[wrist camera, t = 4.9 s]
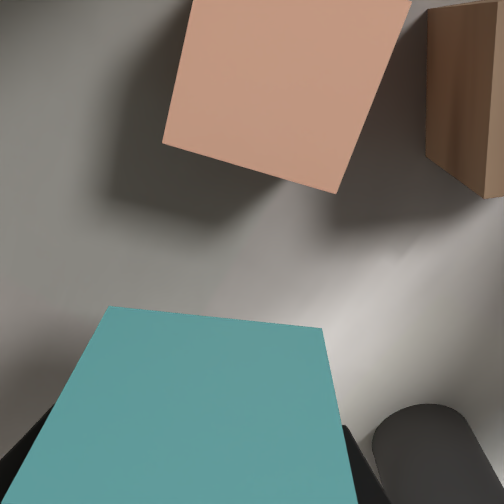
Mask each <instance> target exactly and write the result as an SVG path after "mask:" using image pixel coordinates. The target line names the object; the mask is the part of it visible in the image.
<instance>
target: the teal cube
mask: <svg viewBox="0 0 504 504" xmlns="http://www.w3.org/2000/svg"><path fill="white" fill-rule="evenodd" d="M1 504H358V501H357V497H356V492H355V487H354V482H353V477H352V472H351V468H350V463H349V458H348V453H347V448H346V443H345V438H344V434H343V429H342V424H341V419H340V414H339V409H338V405H337V400H336V395H335V390H334V385H333V380H332V375H331V371H330V366H329V361H328V356H327V351H326V346H325V342H324V337H323V332H322V328H313V327H304V326H294V325H285V324H275V323H266V322H256V321H247V320H237V319H228V318H218V317H208V316H199V315H189V314H180V313H170V312H161V311H151V310H142V309H132V308H123V307H113V306H109V307H108V309H107V310H106V312H105V314H104V316H103V318H102V319H101V321H100V323H99V325H98V327H97V329H96V330H95V332H94V334H93V336H92V338H91V340H90V341H89V343H88V345H87V347H86V349H85V350H84V352H83V354H82V356H81V358H80V360H79V361H78V363H77V365H76V367H75V369H74V371H73V372H72V374H71V376H70V378H69V380H68V382H67V383H66V385H65V387H64V389H63V391H62V392H61V394H60V396H59V398H58V400H57V402H56V403H55V405H54V407H53V409H52V411H51V413H50V414H49V416H48V418H47V420H46V422H45V423H44V425H43V427H42V429H41V431H40V433H39V434H38V436H37V438H36V440H35V442H34V444H33V445H32V447H31V449H30V451H29V453H28V455H27V456H26V458H25V460H24V462H23V464H22V465H21V467H20V469H19V471H18V473H17V475H16V476H15V478H14V480H13V482H12V484H11V486H10V487H9V489H8V491H7V493H6V495H5V496H4V498H3V500H2V502H1Z"/></svg>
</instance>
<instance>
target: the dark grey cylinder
mask: <svg viewBox="0 0 504 504" xmlns="http://www.w3.org/2000/svg"><path fill="white" fill-rule="evenodd" d="M372 451H373V454H374V458H375V461H376V464H377V468H378V471H379V475H380V478H381V482H382V485H383V489H384V491H385V493H386V494H387V496H388V497H389V499H390V500H391V502H392V504H504V488H503V486H502V484H501V482H500V481H499V479H498V477H497V475H496V473H495V472H494V470H493V468H492V466H491V464H490V462H489V461H488V459H487V457H486V455H485V453H484V452H483V450H482V448H481V446H480V444H479V443H478V441H477V439H476V437H475V435H474V433H473V432H472V430H471V428H470V426H469V424H468V423H467V421H466V420H465V418H464V417H463V416H462V415H461V414H460V413H458V412H457V411H455V410H454V409H452V408H449V407H446V406H443V405H437V404H420V405H414V406H410V407H407V408H404V409H401V410H399V411H397V412H395V413H394V414H392V415H390V416H389V417H388V418H386V419H385V420H384V421H383V422H382V423H381V424H380V425H379V427H378V428H377V430H376V431H375V433H374V436H373V440H372Z"/></svg>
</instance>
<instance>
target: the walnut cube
mask: <svg viewBox="0 0 504 504" xmlns="http://www.w3.org/2000/svg"><path fill="white" fill-rule="evenodd" d="M426 157H427V158H429V159H430V160H431V161H433V162H434V163H435V164H437V165H438V166H440V167H441V168H442V169H444V170H445V171H446V172H448V173H449V174H450V175H452V176H453V177H455V178H456V179H457V180H459V181H460V182H461V183H463V184H464V185H465V186H467V187H468V188H470V189H471V190H472V191H474V192H475V193H476V194H478V195H479V196H480V197H482V198H483V199H488V198H495V197H503V196H504V0H481V1H475V2H469V3H462V4H456V5H450V6H444V7H437V8H431V9H428V21H427V93H426Z"/></svg>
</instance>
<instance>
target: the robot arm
mask: <svg viewBox="0 0 504 504" xmlns="http://www.w3.org/2000/svg"><path fill="white" fill-rule="evenodd" d="M54 405H55V404H54ZM54 405H53V406H52V407H51V408H50V409H49V410H48V411H47V412H46V413H45V414H44V415H43V416H42V417H41V419H40V420H39V421H38V422H37V423H36V424H35V425H34V426H33V427H32V428H31V429H30V430H29V431H28V432H27V433H26V434H25V435H24V437H23V438H22V439H21V440H20V441H19V442H18V443H17V444H16V445H15V446H14V447H13V448H12V449H11V450H10V451H9V452H8V453H7V454H6V455H5V456H4V457H3V458H2V459H1V460H0V504H1V502H2V500H3V498H4V496H5V495H6V493H7V491H8V489H9V487H10V486H11V484H12V482H13V480H14V478H15V476H16V475H17V473H18V471H19V469H20V467H21V465H22V464H23V462H24V460H25V458H26V456H27V455H28V453H29V451H30V449H31V447H32V445H33V444H34V442H35V440H36V438H37V436H38V434H39V433H40V431H41V429H42V427H43V425H44V423H45V422H46V420H47V418H48V416H49V414H50V413H51V411H52V409H53V407H54ZM342 429H343V434H344V438H345V443H346V448H347V453H348V458H349V463H350V468H351V472H352V477H353V482H354V487H355V492H356V497H357V501H358V504H392V502H391V500H390V499H389V497H388V496H387V494H386V493H385V491H384V489H383V488H382V486H381V484H380V483H379V481H378V479H377V478H376V476H375V474H374V473H373V471H372V469H371V468H370V466H369V464H368V463H367V461H366V459H365V457H364V456H363V454H362V452H361V450H360V449H359V447H358V445H357V443H356V441H355V439H354V438H353V436H352V434H351V432H350V430H349V429H348V428H347V426H346V425H342Z"/></svg>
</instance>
